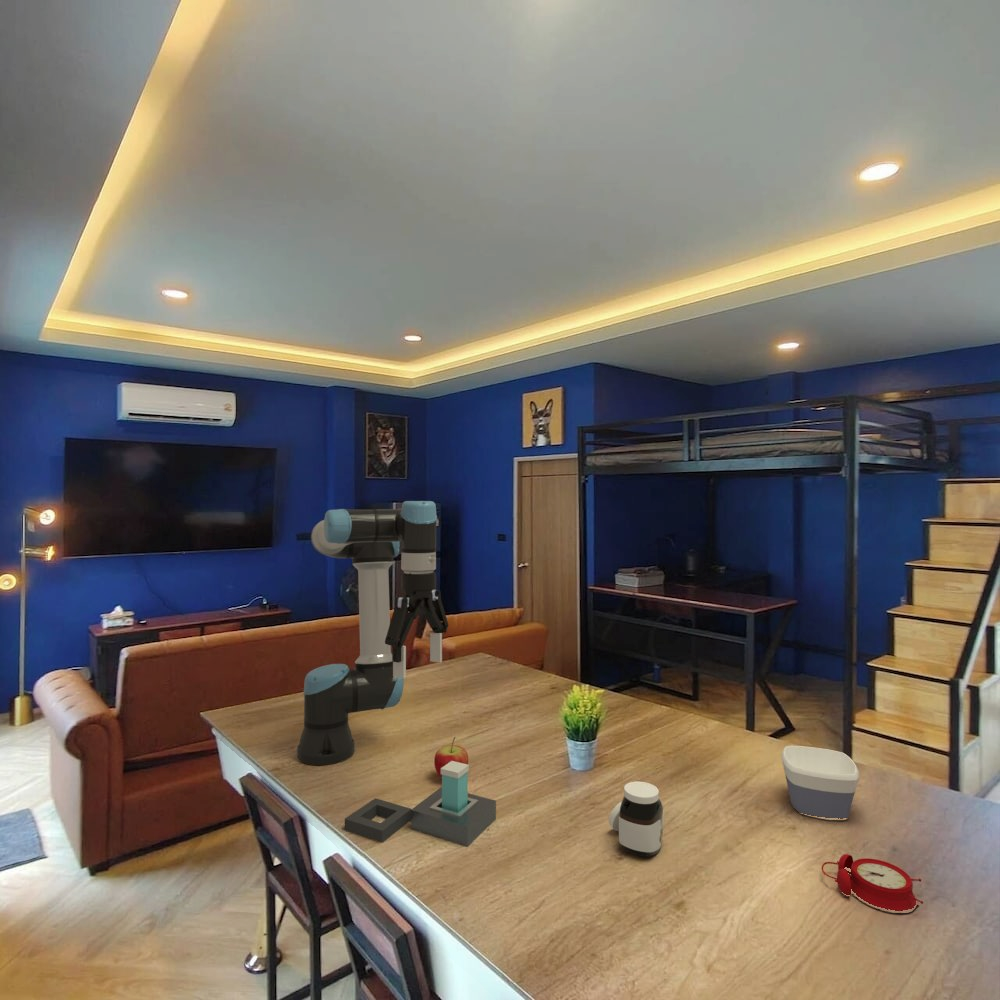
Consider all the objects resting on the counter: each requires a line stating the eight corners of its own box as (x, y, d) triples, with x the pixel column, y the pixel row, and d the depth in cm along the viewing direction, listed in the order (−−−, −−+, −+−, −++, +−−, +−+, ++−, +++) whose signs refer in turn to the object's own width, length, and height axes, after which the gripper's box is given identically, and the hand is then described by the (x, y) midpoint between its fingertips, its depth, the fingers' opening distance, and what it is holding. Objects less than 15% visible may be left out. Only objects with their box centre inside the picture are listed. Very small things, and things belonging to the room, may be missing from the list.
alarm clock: (926, 904, 100) (826, 856, 108) (916, 938, 101) (817, 888, 109) (923, 872, 109) (830, 829, 117) (913, 903, 110) (822, 859, 118)
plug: (440, 825, 131) (440, 768, 131) (451, 816, 135) (451, 760, 135) (458, 830, 129) (458, 772, 129) (468, 821, 133) (468, 764, 133)
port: (410, 828, 129) (410, 808, 129) (442, 803, 140) (442, 785, 140) (467, 846, 123) (467, 825, 123) (495, 818, 133) (496, 799, 133)
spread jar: (651, 865, 117) (652, 804, 117) (596, 847, 123) (596, 789, 123) (670, 836, 127) (670, 780, 127) (618, 821, 133) (618, 767, 133)
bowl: (849, 798, 143) (850, 750, 143) (865, 831, 129) (865, 779, 129) (778, 787, 148) (778, 742, 148) (785, 819, 134) (785, 768, 134)
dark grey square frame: (344, 829, 129) (344, 818, 129) (375, 808, 138) (375, 798, 138) (382, 842, 124) (382, 830, 124) (411, 819, 133) (411, 808, 133)
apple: (473, 775, 154) (473, 735, 154) (457, 789, 147) (457, 748, 147) (445, 769, 158) (445, 730, 158) (428, 783, 150) (428, 742, 150)
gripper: (397, 579, 120) (397, 686, 121) (463, 566, 143) (463, 657, 143) (367, 576, 124) (367, 681, 124) (436, 565, 146) (436, 654, 146)
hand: (418, 669), depth 133 cm, fingers open, 13 cm apart
